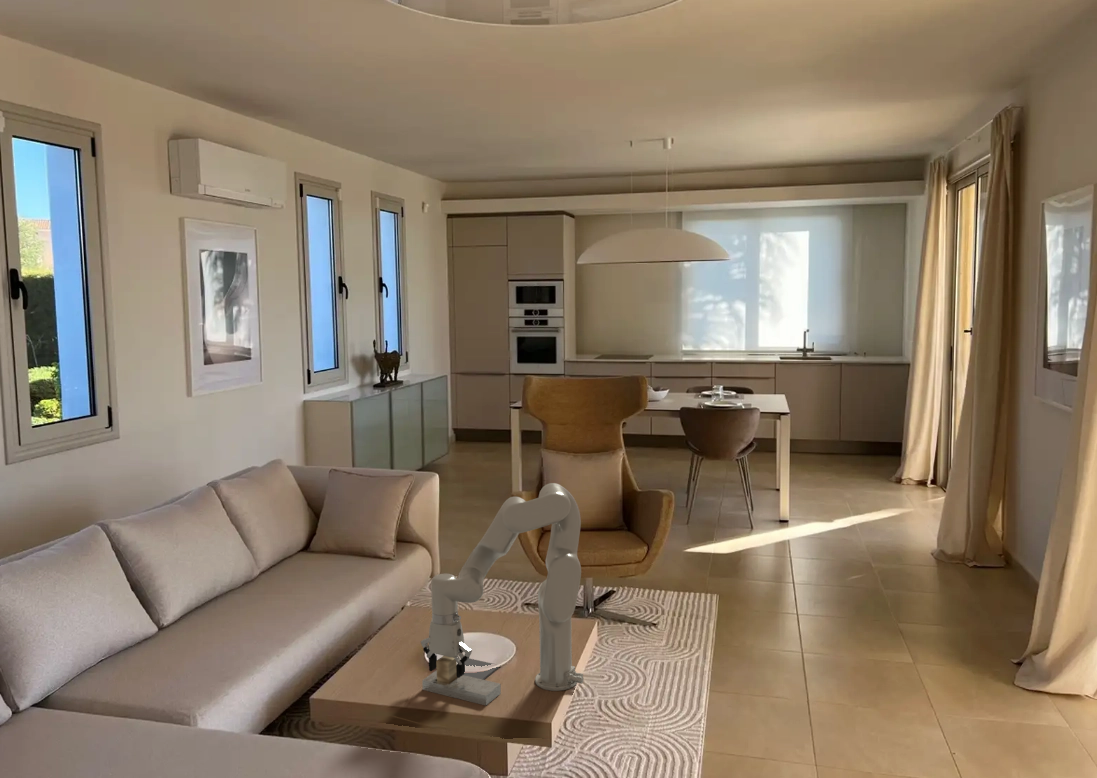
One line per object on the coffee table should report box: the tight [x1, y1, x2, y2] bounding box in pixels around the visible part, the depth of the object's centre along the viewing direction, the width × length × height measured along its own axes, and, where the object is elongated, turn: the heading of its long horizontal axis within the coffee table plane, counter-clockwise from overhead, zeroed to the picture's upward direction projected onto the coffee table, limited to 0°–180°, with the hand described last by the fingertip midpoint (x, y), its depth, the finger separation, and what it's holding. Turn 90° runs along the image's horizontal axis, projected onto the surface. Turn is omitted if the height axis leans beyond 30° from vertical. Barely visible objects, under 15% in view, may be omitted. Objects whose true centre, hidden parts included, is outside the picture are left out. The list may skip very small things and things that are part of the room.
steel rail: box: [421, 669, 502, 706], centre depth 246 cm, size 22×8×3 cm, turn 62°
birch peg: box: [436, 655, 458, 684], centre depth 248 cm, size 4×4×9 cm
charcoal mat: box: [464, 657, 500, 680], centre depth 260 cm, size 12×12×1 cm
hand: (446, 672), depth 248 cm, fingers open, 9 cm apart
